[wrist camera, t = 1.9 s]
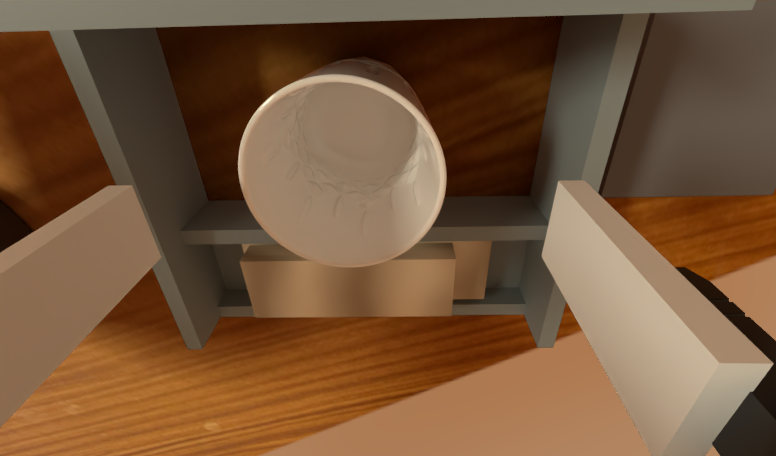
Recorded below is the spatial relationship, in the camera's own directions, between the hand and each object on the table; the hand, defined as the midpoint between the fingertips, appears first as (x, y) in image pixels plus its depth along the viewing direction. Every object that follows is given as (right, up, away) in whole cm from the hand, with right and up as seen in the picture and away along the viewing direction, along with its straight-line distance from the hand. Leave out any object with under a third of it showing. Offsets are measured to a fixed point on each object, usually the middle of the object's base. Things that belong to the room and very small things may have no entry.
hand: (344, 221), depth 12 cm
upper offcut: (-1, -3, +13) cm, 14 cm away
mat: (+21, +7, +10) cm, 24 cm away
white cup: (0, +7, +11) cm, 13 cm away
